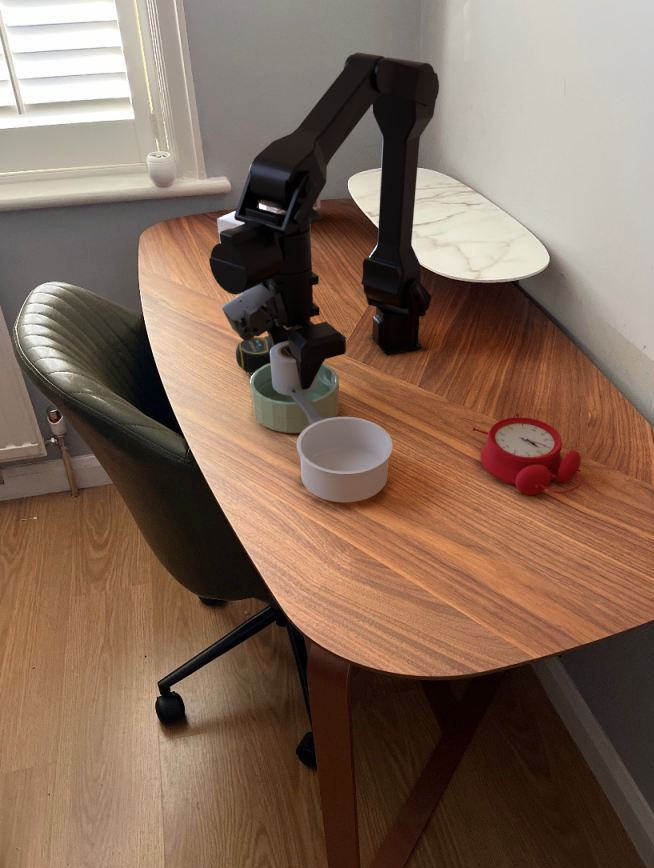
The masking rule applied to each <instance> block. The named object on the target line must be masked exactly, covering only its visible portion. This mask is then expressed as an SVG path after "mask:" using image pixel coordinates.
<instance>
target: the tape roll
mask: <svg viewBox="0 0 654 868" xmlns="http://www.w3.org/2000/svg"><path fill="white" fill-rule="evenodd" d="M285 348H289V341H284V342H281V343H278V344H276V345H275V346H273V347H272V348H271V350H270V361H271V373H272V386H273V388H274V390H275V391H277V392H278V393H280V394H283V395H287V396H290V394H289V393H288V392H287V389H288V388H291V387H296V389H297V390H298V391H299V392H300V393H301V394H302V395H305V394H308V393H311V392H312V391H314V390H315V389H316V388H317V386H318V373H317V375H316V377H315V379H314V381H313V383H312V385H311V387H310V388H309V389H305V390H303V389H302V388H301V384H300V380H299V375H298V370H297V365H296V360H295V359H294V358H293V357H292V356H290V355H289V354H288V353H287V352H286V351H285Z"/></svg>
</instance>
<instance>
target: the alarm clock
mask: <svg viewBox="0 0 654 868" xmlns="http://www.w3.org/2000/svg"><path fill="white" fill-rule="evenodd" d="M472 431H474V432H475V431H476V432H479V433H480V434H483V435H486V436H487V439H486V443H485V444H484V445H483V446H482V448H481V450H480V455H479V460H480V464H481V466H482V467H483V469H484V470H485V471H486V472H487V473H488V474H489V475H490V476H492V477H494V478H495V479H497V480H499V481H501V482H503V483H505V484H510V485H514V486H515V487H516V489H517V491H518V492H519V493H521V494H522V495H526V496H536V495H538V494H541V493H543V492H544V491H548V492H550V493H553V494H566V493H569V492H572V491H574V490H577V489H578V488H579V487H581V486H582V484H583V480H582V477H581V476H580V475H579V473H581V472H582V470H581V469H580V466H581V462H582V457H581V454H580V453H579V452H578V451H577V450H575V449H571V450H570V451H568V453H567V454H566V455H565V456H564V457H563V458H562V456H561V451H562V447H563V442H562V437H561V435H560V433H559V432H558V430H556V428H554V427H553V426H551V425H550V424H548V423H546V422H544V421H541V420H539V419H534V418H531V417H524V416H520V413H518V412H517V413H515V416H514V417H507V418H503V419H501V420H499V421H497V422H495V423H494V424H493V425H492V426H491V427H490V429H489V431H484V430H481V429H477V428H476V427H473V428H472ZM575 476H576V477H577V478H578V479H579V483H578V484H577V485H576V486H573V487H572V488H569V489H565V490H553V489H550V488H548V486H549V484H550V483H551V482H552V481H554V480H557V481H558V482H559V483H563V484H565V483H569V482H571V481H572V480H573V479H574V478H575Z"/></svg>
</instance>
